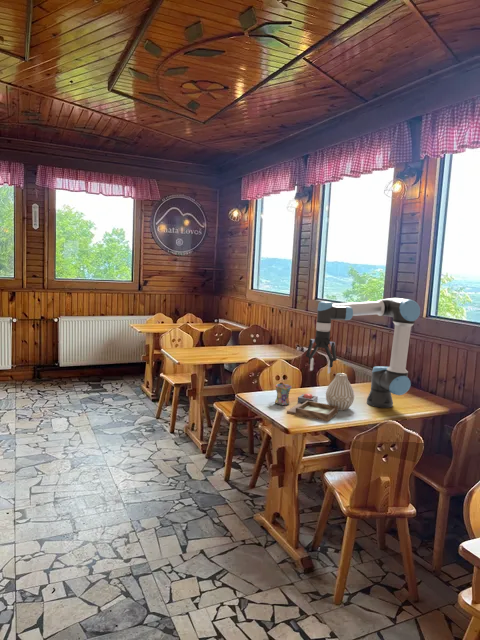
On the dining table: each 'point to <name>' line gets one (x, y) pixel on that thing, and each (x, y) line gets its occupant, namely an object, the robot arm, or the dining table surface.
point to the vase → (340, 392)
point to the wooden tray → (314, 410)
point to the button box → (306, 399)
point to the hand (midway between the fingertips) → (320, 371)
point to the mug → (282, 394)
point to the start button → (308, 396)
